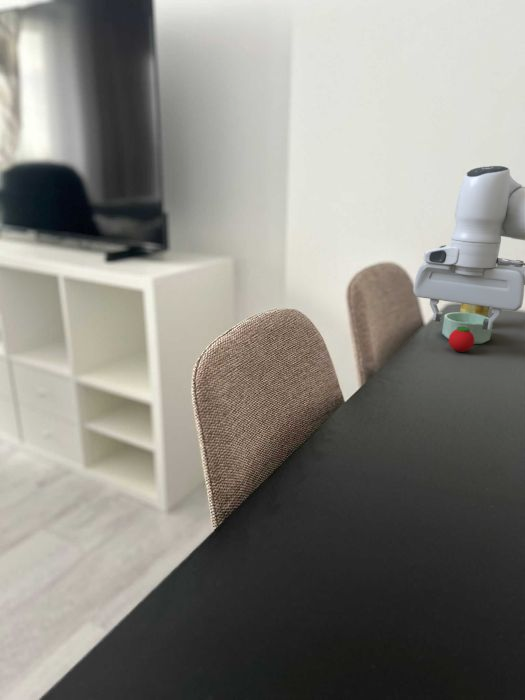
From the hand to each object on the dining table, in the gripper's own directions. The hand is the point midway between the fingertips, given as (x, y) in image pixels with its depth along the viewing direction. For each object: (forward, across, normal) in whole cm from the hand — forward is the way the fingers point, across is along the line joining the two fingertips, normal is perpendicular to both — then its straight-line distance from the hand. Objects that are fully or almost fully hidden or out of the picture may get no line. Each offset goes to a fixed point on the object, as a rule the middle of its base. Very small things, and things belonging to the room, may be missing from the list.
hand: (461, 324), depth 103 cm
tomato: (+6, 0, 0) cm, 6 cm away
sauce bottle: (+6, 0, -22) cm, 23 cm away
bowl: (+6, 0, -10) cm, 12 cm away
